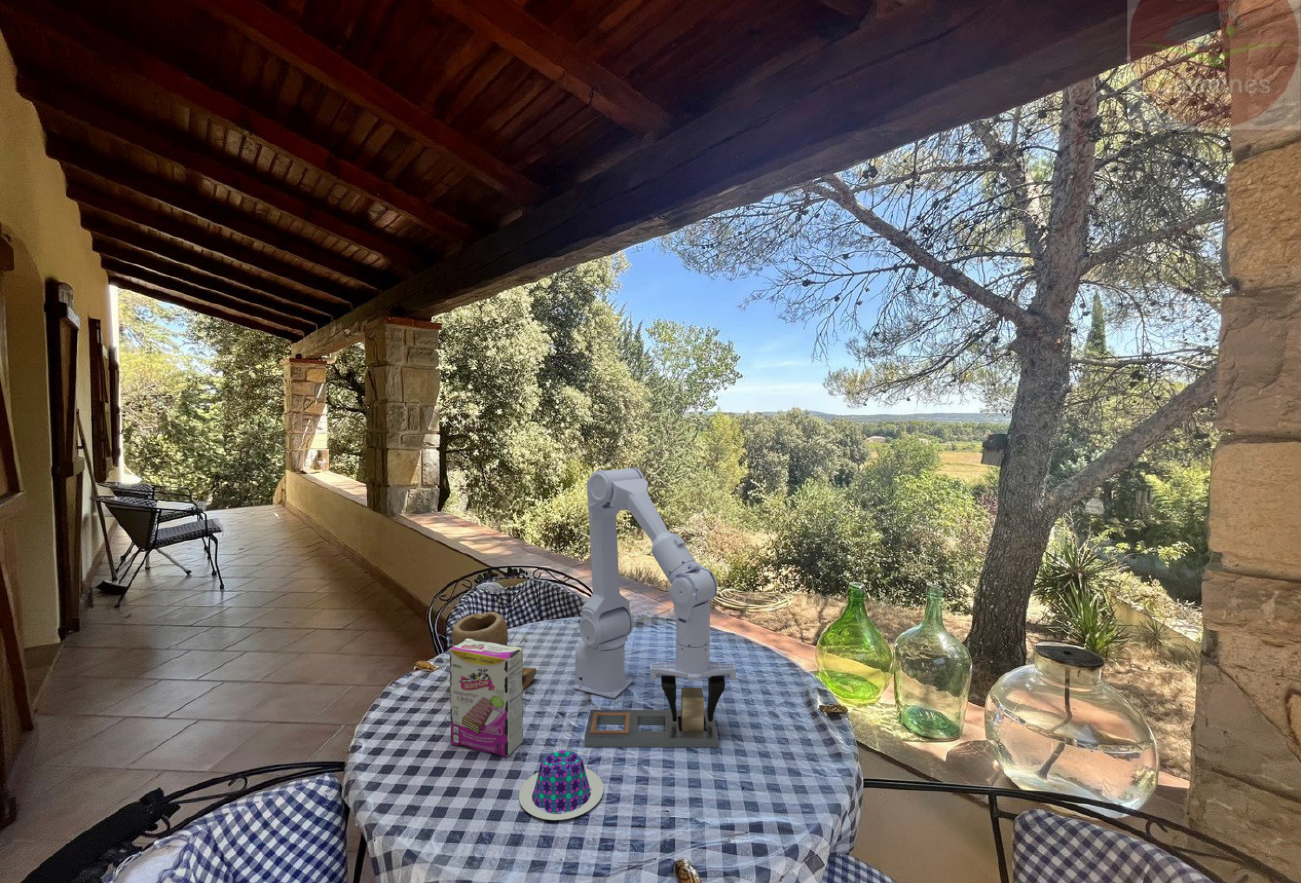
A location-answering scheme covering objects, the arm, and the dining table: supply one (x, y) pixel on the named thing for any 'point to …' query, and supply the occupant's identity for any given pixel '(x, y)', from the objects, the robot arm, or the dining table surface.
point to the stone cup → (487, 634)
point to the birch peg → (692, 709)
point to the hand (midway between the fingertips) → (692, 718)
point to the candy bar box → (486, 696)
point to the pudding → (561, 787)
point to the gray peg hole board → (646, 738)
